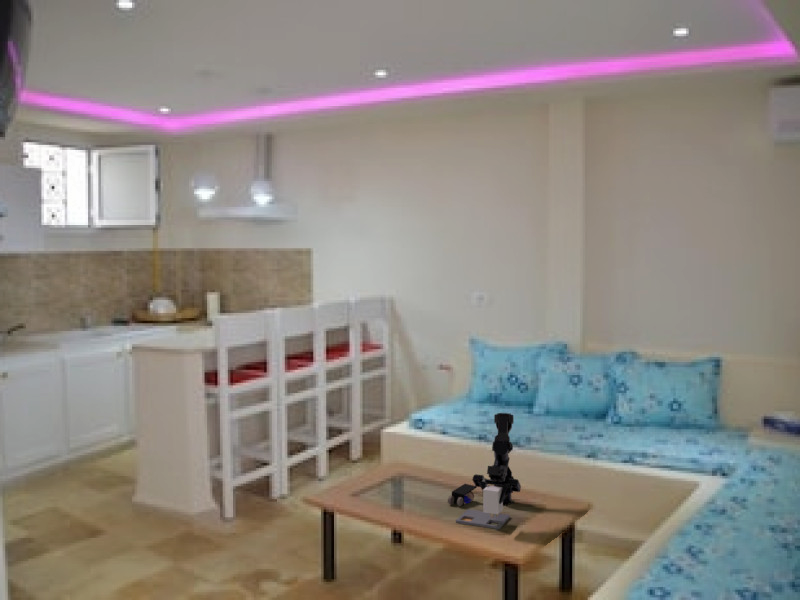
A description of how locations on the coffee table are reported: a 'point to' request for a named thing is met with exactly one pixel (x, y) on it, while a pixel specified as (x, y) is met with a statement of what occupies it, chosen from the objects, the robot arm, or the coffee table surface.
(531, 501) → the coffee table surface
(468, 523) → the socket plate
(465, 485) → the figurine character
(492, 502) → the pale grey block
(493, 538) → the coffee table surface
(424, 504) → the coffee table surface
